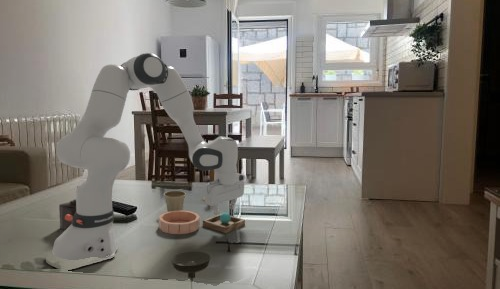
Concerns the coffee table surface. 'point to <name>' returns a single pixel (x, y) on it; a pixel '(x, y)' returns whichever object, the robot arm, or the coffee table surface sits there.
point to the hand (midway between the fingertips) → (224, 211)
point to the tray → (218, 225)
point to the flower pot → (174, 200)
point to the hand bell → (211, 176)
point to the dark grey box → (64, 210)
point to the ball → (225, 218)
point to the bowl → (179, 222)
